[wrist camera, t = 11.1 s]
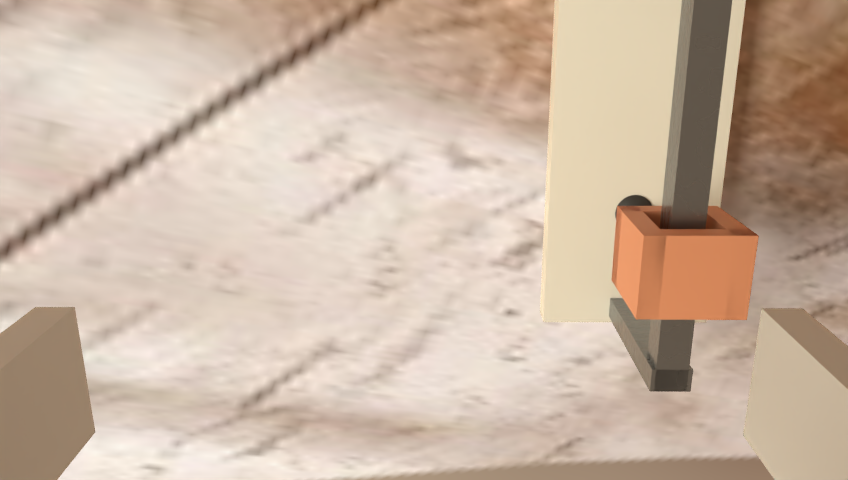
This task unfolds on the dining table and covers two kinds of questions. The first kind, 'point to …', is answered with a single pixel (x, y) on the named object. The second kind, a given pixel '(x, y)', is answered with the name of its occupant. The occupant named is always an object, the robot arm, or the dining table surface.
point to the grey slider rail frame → (683, 184)
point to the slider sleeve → (683, 266)
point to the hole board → (612, 138)
